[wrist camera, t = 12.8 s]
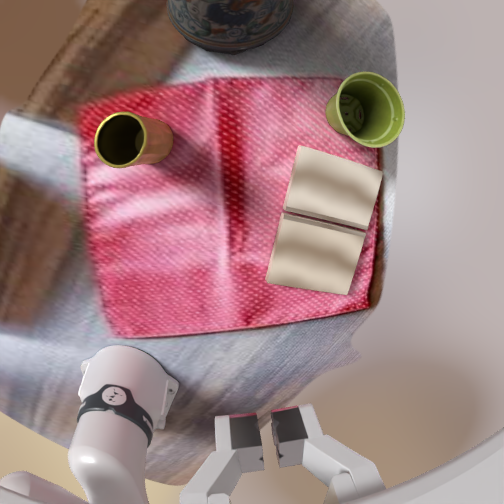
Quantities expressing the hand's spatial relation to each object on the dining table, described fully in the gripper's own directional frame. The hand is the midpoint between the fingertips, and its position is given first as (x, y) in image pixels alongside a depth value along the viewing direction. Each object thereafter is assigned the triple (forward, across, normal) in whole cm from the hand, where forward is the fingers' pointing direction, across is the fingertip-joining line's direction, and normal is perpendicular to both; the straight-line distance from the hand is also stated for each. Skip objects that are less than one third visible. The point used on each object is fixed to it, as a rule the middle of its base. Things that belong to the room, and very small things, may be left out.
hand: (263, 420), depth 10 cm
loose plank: (+34, -12, +7) cm, 37 cm away
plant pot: (+34, -18, -13) cm, 41 cm away
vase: (+34, +9, -11) cm, 37 cm away
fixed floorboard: (+34, -15, -3) cm, 37 cm away
